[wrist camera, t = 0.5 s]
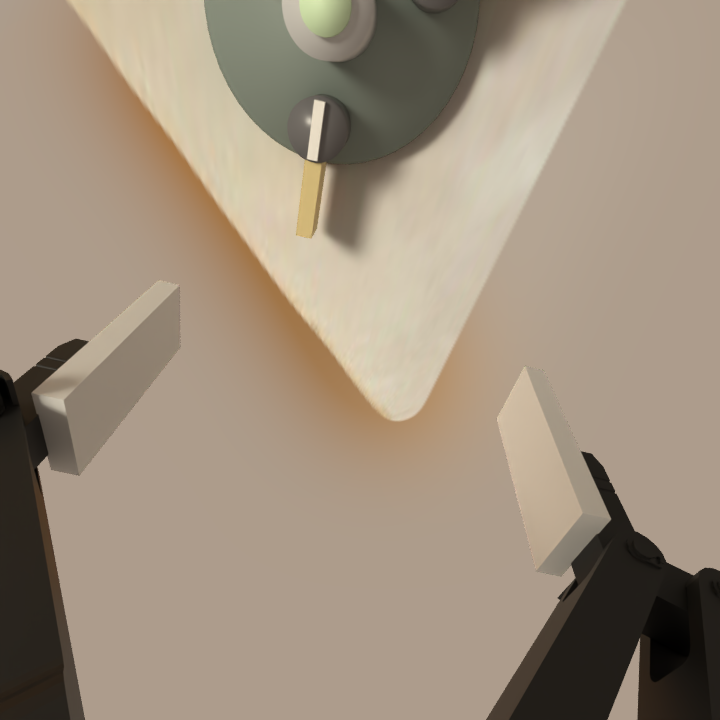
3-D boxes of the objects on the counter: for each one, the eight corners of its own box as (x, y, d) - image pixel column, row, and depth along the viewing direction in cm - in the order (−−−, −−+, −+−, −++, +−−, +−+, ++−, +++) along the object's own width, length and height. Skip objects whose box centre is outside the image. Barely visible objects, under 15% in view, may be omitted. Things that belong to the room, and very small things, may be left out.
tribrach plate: (158, -93, 28) (88, -139, 22) (442, -254, 24) (454, -368, 17) (277, 191, 37) (251, 216, 31) (498, 113, 32) (520, 124, 26)
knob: (300, 88, 31) (289, 90, 28) (355, 101, 32) (350, 104, 29) (286, 220, 37) (275, 234, 34) (334, 231, 37) (327, 245, 34)
